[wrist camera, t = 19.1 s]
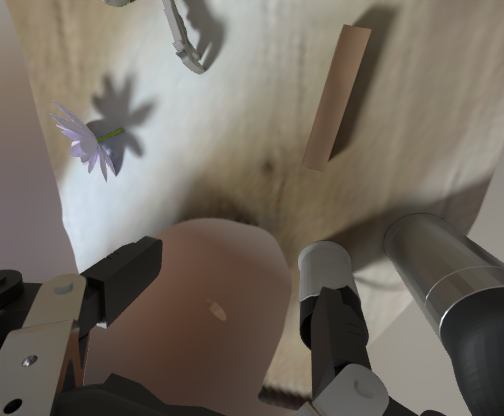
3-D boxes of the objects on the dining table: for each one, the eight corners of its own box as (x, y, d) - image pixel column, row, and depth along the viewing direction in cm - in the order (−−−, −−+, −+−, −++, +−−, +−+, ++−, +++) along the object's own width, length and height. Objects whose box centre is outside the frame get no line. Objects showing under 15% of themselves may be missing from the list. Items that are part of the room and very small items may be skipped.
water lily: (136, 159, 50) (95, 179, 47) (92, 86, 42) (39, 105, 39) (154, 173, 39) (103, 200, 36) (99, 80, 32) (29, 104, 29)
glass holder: (337, 232, 39) (354, 292, 25) (373, 300, 42) (407, 388, 28) (289, 252, 42) (280, 315, 28) (326, 314, 44) (334, 401, 31)
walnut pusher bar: (361, 43, 31) (371, 29, 26) (321, 166, 36) (324, 171, 32) (338, 39, 31) (343, 24, 26) (302, 161, 37) (301, 166, 32)
